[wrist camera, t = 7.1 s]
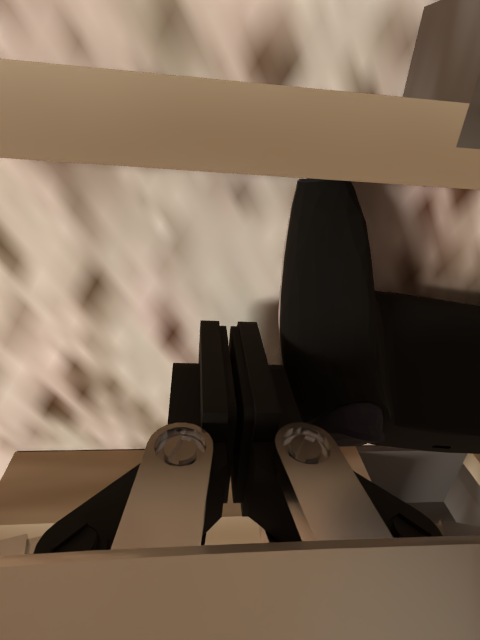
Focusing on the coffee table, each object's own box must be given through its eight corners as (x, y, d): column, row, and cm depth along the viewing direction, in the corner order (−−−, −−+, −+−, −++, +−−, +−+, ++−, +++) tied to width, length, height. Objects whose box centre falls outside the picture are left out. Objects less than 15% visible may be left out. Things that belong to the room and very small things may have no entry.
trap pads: (482, 24, 10) (490, 22, 9) (658, 45, 10) (670, 44, 10) (339, 499, 18) (341, 505, 18) (440, 496, 19) (443, 501, 19)
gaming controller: (261, 231, 14) (246, 438, 12) (306, 146, 10) (294, 444, 8) (523, 276, 16) (547, 461, 14) (657, 220, 12) (717, 477, 10)
